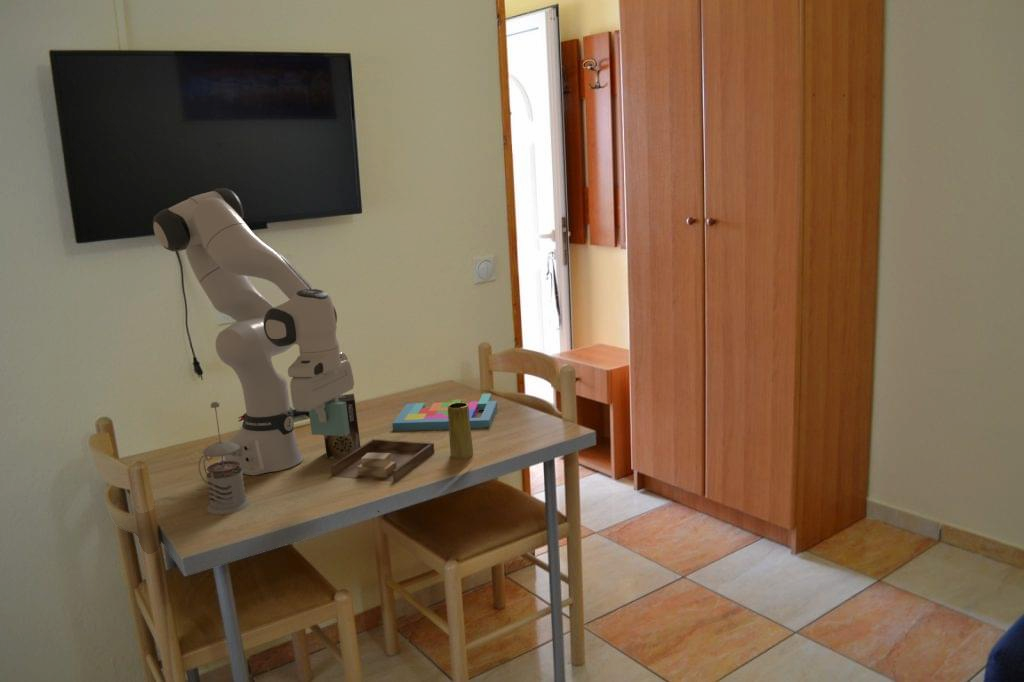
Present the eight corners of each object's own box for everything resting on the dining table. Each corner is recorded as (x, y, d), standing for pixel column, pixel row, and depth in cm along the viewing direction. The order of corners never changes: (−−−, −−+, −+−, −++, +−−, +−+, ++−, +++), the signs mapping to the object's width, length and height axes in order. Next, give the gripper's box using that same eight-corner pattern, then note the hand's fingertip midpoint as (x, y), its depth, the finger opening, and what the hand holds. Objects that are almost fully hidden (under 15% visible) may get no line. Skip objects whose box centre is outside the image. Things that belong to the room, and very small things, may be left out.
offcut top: (362, 466, 211) (361, 458, 210) (368, 461, 214) (367, 452, 214) (385, 467, 209) (384, 458, 209) (391, 461, 213) (390, 453, 212)
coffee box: (360, 451, 232) (354, 393, 229) (361, 458, 226) (355, 399, 223) (326, 455, 231) (319, 397, 227) (326, 463, 224) (319, 403, 221)
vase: (452, 464, 218) (447, 409, 215) (448, 456, 224) (444, 403, 221) (476, 460, 219) (471, 406, 216) (471, 453, 225) (467, 400, 222)
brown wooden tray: (331, 479, 212) (329, 466, 211) (374, 451, 231) (373, 438, 230) (396, 485, 206) (394, 471, 205) (434, 455, 225) (433, 443, 224)
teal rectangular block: (311, 434, 201) (307, 403, 199) (316, 431, 202) (312, 400, 201) (345, 436, 197) (341, 404, 196) (349, 433, 199) (346, 401, 198)
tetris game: (489, 429, 245) (500, 401, 272) (489, 420, 245) (500, 393, 272) (393, 432, 248) (413, 404, 276) (392, 423, 248) (412, 396, 275)
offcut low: (358, 475, 211) (357, 466, 211) (368, 467, 216) (367, 459, 215) (386, 477, 208) (385, 469, 208) (396, 470, 213) (395, 461, 213)
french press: (231, 516, 194) (216, 409, 188) (191, 510, 198) (175, 406, 193) (259, 499, 202) (246, 396, 197) (221, 494, 207) (207, 394, 202)
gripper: (334, 350, 207) (340, 405, 210) (282, 371, 188) (291, 432, 191) (356, 350, 205) (363, 406, 207) (307, 371, 186) (315, 433, 189)
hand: (328, 419), depth 199 cm, fingers closed on teal rectangular block, 2 cm apart
